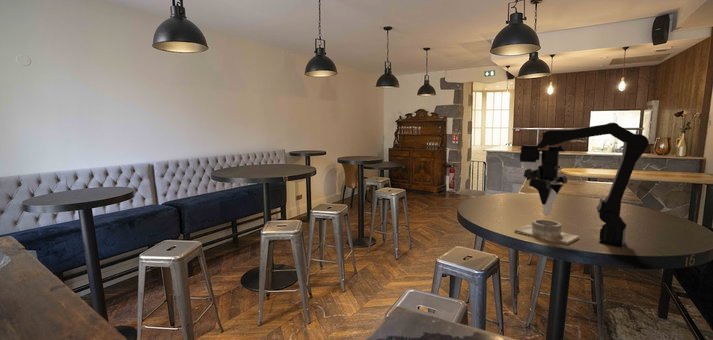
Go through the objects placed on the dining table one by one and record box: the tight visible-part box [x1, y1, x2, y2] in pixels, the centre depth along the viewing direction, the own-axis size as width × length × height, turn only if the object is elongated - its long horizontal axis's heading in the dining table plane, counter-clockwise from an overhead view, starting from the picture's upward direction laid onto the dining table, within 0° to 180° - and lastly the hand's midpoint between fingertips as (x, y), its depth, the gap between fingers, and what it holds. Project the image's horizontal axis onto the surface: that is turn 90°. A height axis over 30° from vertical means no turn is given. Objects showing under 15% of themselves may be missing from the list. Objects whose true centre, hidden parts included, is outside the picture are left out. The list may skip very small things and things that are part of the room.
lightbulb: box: [538, 189, 558, 217], centre depth 131 cm, size 6×6×11 cm
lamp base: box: [514, 219, 580, 246], centre depth 131 cm, size 19×11×5 cm, turn 38°
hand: (547, 203), depth 131 cm, fingers closed on lightbulb, 6 cm apart
